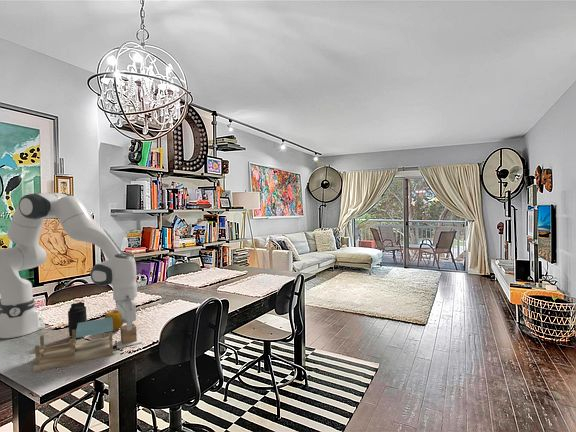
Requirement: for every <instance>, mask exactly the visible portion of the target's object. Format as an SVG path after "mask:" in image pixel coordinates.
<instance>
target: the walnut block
mask: <svg viewBox="0 0 576 432" xmlns="http://www.w3.org/2000/svg"><path fill="white" fill-rule="evenodd" d="M119 330H120V339H121V341H122V343H123V344H127V343H131V342H135V341H137V335H138V334H137V326H136V325H135V324H134V322H132V329H131V330H129V331H127V329H126V324H125V325H124V324H123V325H122V326H120V329H119Z"/></svg>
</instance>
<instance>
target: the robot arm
mask: <svg viewBox="0 0 576 432" xmlns="http://www.w3.org/2000/svg"><path fill="white" fill-rule="evenodd" d="M56 218H57V219H58V221H59V223H60V225H61V226H62V228H63V230H64V232H65V233H66V235H67V236H68V237H70V239H72V240H74V241H78V242H85V243H89V244H92V245H95V246H97V247H98V248H99V249H100V250H101V251H102V253H103V254H104V255H105V257H106V258H107V260H104V261H101V262H99V263H96V264H94V265H93V266H92V267H91V270H90V274H89V275H90V280H91V281H92V282H93V284H95V285H97V286H99V287H100V286H101V287H102V286H104V287H105V286H108V285H112V299H113V300H114V301H115V306H116V307H115V308H116V310H118V312H119V313H120V316H121V322H122V323H123V325H124V324H125V325H126V329H127V331H129V330H131V329H132V323H134V322H135V321H136V320H137V309H136V308H137V307H136V302H135V298H137V297H138V283H137V280H136V279H137V263H136V260H135V257H134V256H133V255H131V254H129V253H123V251H122V250H121V249H120V247H119V246H118V245H117V243H116V242H115V240H114V239H113V238H112V236H110V234H109V233H108V231H106V230H105V229H104V228H103V227H102V226H100V225H99V224H98V223H97V221H95V219H94V218H93V217H92V215H91V213H90V211H89V210H88V209H87V207H86V205H84V204H83V202H82V201H81V199H79V197H77V196H74V195H72V194H70V193H65V192H64V193H63V192H62V193H58V192H45V193H44V192H42V193H41V192H40V193H36V192H35V193H34V192H33V193H28V194H25V195H23V196H22V197H21V198H20V199H19V203H18V205H17V207H16V208H15V210H14V212H13V214H12V217H11V221H10V223H9V225H8V229H7V232H6V235H7V237H8V239H9V241H11V242H13V243H15V245H14V246H13V247H7V248H0V339H12V338H17V337H18V338H19V337H23V336H27V335H29V334H31V333H32V334H33V333H35V332H37V331H39V330H42V329H45V328H46V325H45V321H44V319H43V317H40V316H39V311H38V309H37V308H36V307H35V305H36V301H35V299H34V295H33V283H32V282H31V281H30V280H29V279H26V278H22V277H21V276H20V274H19V272H20V271H21V272H22V271H26V270H30V269H34V268H37V267H40V266H41V265H43V264H44V263H45V262H46V261H47V256H48V255H47V251H46V249H44V247H42V246H41V245H40V242H39V240H40V235H41V232H42V228H43V226H44V222H45V220H47V219H49V220H50V219H56Z"/></svg>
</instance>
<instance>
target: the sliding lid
mask: <svg viewBox="0 0 576 432" xmlns="http://www.w3.org/2000/svg"><path fill="white" fill-rule="evenodd" d="M109 331H112V332H114V331H113V319H112V317H109V318H105V317H104V318H99V319H93V320H88V321H87V322H81V323H78V324H77V329H76V339H79V338H78V337H80V338H83V337H89V336H92V335H98V334H103V333H109Z"/></svg>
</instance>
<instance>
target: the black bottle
mask: <svg viewBox="0 0 576 432" xmlns="http://www.w3.org/2000/svg"><path fill="white" fill-rule="evenodd" d="M87 320H88V318H87V306H85V302H82V301H79V302H76V303H71V304H70V308H69V309H68V311H67V321H68V322H67V323H68V336H69V337H71V338H72V330H74V329H75V334H76V329H77V324H78V323H81V322H87ZM79 338H81V337H78V338H77V339H79Z"/></svg>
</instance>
